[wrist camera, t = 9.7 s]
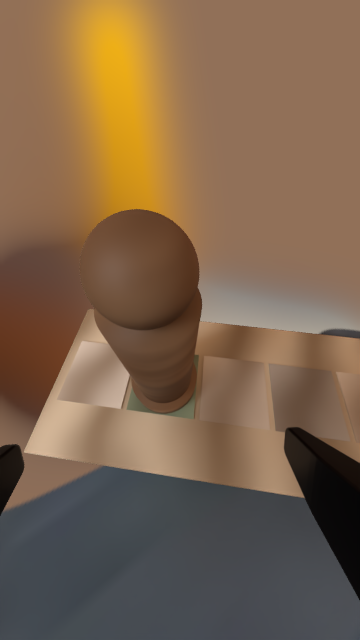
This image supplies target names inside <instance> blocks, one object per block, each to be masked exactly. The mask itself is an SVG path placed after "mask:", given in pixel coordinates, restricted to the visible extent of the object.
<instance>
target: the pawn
mask: <svg viewBox="0 0 360 640" xmlns="http://www.w3.org/2000/svg"><path fill="white" fill-rule="evenodd" d="M80 278H81V283H82V286H83V289H84V291H85V294H86V296H87V298H88V299H89V301H90V303H91V304H92V305H93V307H94V318H95V322H96V325H97V327H98V329H99V330H100V332H101V333H102V335H103V336H104V338H105V339H106V341H107V342H108V344H109V345H110V347H111V348H112V350H113V351H114V353H115V354H116V355H117V357H118V358H119V360H120V361H121V363H122V364H123V366H124V367H125V369H126V370H127V372H128V373H129V374H130V376H131V384H132V388H133V391H134V393H135V395H136V397H137V398H138V399H139V400H140V402H141V403H142V404H143V405H144V406H145V407H146V408H148V409H149V410H151V411H153V412H156V413H161V414H167V413H172V412H175V411H178V410H179V409H181V408H183V407H184V406H185V405H186V404H187V403H188V402H189V400H190V399H191V397H192V395H193V393H194V390H195V386H196V381H197V371H196V367H195V364H194V362H193V361H194V355H195V349H196V342H197V336H198V329H199V323H200V317H201V310H202V299H201V294H200V292H199V289H198V288H197V287H198V282H199V263H198V258H197V254H196V252H195V249H194V247H193V244H192V243H191V241H190V239H189V238H188V236H187V235H186V233H185V232H184V231H183V230H182V229H181V228H180V227H179V226H178V225H177V224H176V223H174V222H173V221H172V220H170V219H169V218H167V217H165V216H163V215H161V214H158V213H156V212H152V211H148V210H140V209H134V210H126V211H121V212H118V213H115V214H113V215H111V216H109V217H107V218H106V219H104V220H103V221H101V222H100V223H99V224H98V225H97V226H96V227H95V228H94V229H93V230H92V232H91V233H90V234H89V236H88V238H87V239H86V241H85V244H84V246H83V249H82V252H81V256H80Z"/></svg>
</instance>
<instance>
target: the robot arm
mask: <svg viewBox="0 0 360 640" xmlns="http://www.w3.org/2000/svg"><path fill="white" fill-rule="evenodd" d="M284 452H285V455H286V457H287V460H288V462H289V464H290V466H291V469H292V471H293V473H294V475H295V477H296V480H297V482H298V484H299V486H300V489H301V491H302V493H303V495H304V498H305V500H306V502H307V504H308V506H309V508H310V510H311V512H312V514H313V516H314V518H315V520H316V521H317V523H318V525H319V527H320V529H321V531H322V532H323V534H324V536H325V538H326V540H327V542H328V543H329V545H330V547H331V549H332V551H333V552H334V554H335V556H336V558H337V560H338V562H339V563H340V565H341V567H342V569H343V571H344V573H345V574H346V576H347V578H348V580H349V582H350V583H351V585H352V587H353V589H354V591H355V593H356V594H357V596H358V598H359V600H360V463H359V462H357V461H356V460H354V459H352V458H351V457H349V456H347V455H346V454H344V453H342V452H340V451H339V450H337V449H335V448H334V447H332V446H330V445H329V444H327V443H325V442H324V441H322V440H320V439H319V438H317V437H315V436H314V435H312V434H310V433H308V432H307V431H305V430H303V429H302V428H300V427H288V428H286V430H285V439H284ZM23 470H24V460H23V456H22V453H21V449H20V446H19V445H17V444H12V445H4V446H2V447H0V515H1V513H2V511H3V510H4V508H5V506H6V504H7V502H8V500H9V498H10V496H11V494H12V492H13V490H14V488H15V486H16V485H17V483H18V481H19V479H20V477H21V475H22V473H23Z"/></svg>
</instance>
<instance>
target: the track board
mask: <svg viewBox="0 0 360 640" xmlns="http://www.w3.org/2000/svg"><path fill="white" fill-rule="evenodd" d="M193 362H194V364H195V367H196V371H197V381H196V386H195V390H194V393H193V395H192V397H191V399H190V400H189V402H188V403H187V404H186V405H185V406H184V407H183V408H181V409H179V410H178V411H175V412H172V413H167V414H161V413H156V412H153V411H151V410H149V409H148V408H146V407H145V406H144V405H143V404H142V403H141V402H140V400H139V399H138V398H137V397H136V395H135V393H134V391H133V388H132V384H131V376H130V374H129V373H128V372H127V370H126V369H125V367H124V366H123V364H122V363H121V361H120V360H119V358H118V357H117V355H116V354H115V353H114V351H113V350H112V348H111V347H110V345H109V344H108V342H107V341H106V339H105V338H104V336H103V335H102V333H101V332H100V330H99V329H98V327H97V325H96V322H95V318H94V310H92V309H88V311H87V314H86V316H85V318H84V320H83V322H82V325H81V327H80V329H79V331H78V334H77V336H76V338H75V340H74V342H73V345H72V347H71V349H70V351H69V353H68V356H67V358H66V360H65V362H64V364H63V367H62V369H61V371H60V373H59V375H58V378H57V380H56V382H55V384H54V386H53V389H52V391H51V393H50V395H49V398H48V400H47V402H46V404H45V406H44V409H43V411H42V413H41V415H40V417H39V420H38V422H37V424H36V426H35V428H34V431H33V433H32V435H31V438H30V439H29V442H28V444H27V446H26V448H25V450H24V452H25V453H31V454H37V455H44V456H50V457H56V458H62V459H68V460H74V461H80V462H86V463H93V464H99V465H105V466H111V467H117V468H123V469H129V470H136V471H142V472H148V473H154V474H160V475H166V476H173V477H179V478H185V479H191V480H197V481H203V482H209V483H216V484H222V485H228V486H234V487H240V488H246V489H253V490H259V491H265V492H271V493H277V494H283V495H290V496H296V497H302V498H304V495H303V493H302V491H301V489H300V486H299V484H298V482H297V480H296V477H295V475H294V473H293V471H292V469H291V466H290V464H289V462H288V460H287V457H286V455H285V452H284V439H285V430H286V428H288V427H300V428H302V429H303V430H305V431H307V432H308V433H310V434H312V435H314V436H315V437H317V438H319V439H320V440H322V441H324V442H325V443H327V444H329V445H330V446H332V447H334V448H335V449H337V450H339V451H340V452H342V453H344V454H346V455H347V456H349V457H351V458H352V459H354V460H356V461H357V462H359V463H360V339H357V338H348V337H339V336H330V335H321V334H312V333H302V332H293V331H284V330H275V329H266V328H257V327H247V326H239V325H229V324H220V323H211V322H202V321H200V323H199V329H198V336H197V342H196V349H195V355H194V361H193Z"/></svg>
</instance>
